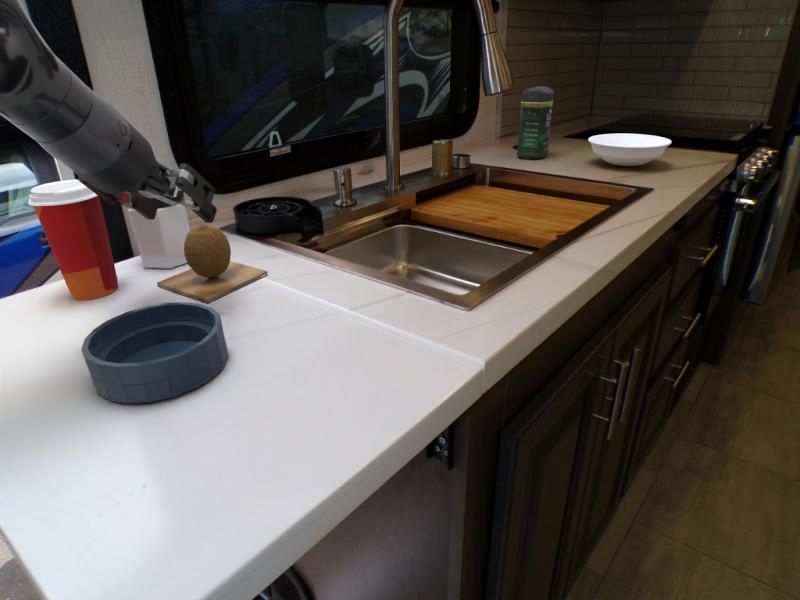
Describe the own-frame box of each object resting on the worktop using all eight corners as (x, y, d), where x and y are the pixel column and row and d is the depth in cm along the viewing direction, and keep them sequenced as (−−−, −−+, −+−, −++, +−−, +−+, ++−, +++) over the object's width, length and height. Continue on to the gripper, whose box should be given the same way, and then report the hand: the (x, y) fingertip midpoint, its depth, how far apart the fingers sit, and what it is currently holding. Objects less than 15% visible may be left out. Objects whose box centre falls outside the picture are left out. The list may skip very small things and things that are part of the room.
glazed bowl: (69, 379, 54) (55, 342, 52) (178, 325, 64) (170, 292, 62) (144, 422, 48) (132, 382, 46) (253, 355, 58) (247, 319, 56)
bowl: (608, 154, 149) (611, 131, 146) (680, 163, 136) (685, 138, 133) (570, 165, 137) (573, 140, 134) (645, 177, 124) (650, 149, 121)
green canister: (541, 161, 143) (547, 88, 135) (513, 158, 147) (518, 87, 139) (551, 154, 151) (558, 85, 142) (524, 152, 154) (529, 84, 146)
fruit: (180, 283, 74) (168, 229, 71) (209, 266, 80) (199, 215, 76) (217, 288, 72) (205, 233, 69) (243, 271, 77) (234, 219, 74)
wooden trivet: (157, 286, 75) (156, 282, 75) (218, 261, 83) (218, 257, 83) (207, 303, 70) (206, 299, 69) (268, 274, 78) (267, 270, 77)
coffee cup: (108, 274, 79) (79, 175, 73) (138, 286, 75) (110, 182, 68) (50, 295, 73) (11, 189, 67) (79, 309, 69) (41, 198, 62)
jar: (182, 246, 90) (166, 176, 84) (209, 256, 85) (194, 182, 80) (130, 262, 84) (110, 188, 78) (157, 274, 79) (137, 196, 74)
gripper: (23, 170, 54) (127, 238, 69) (144, 174, 51) (225, 244, 66) (47, 109, 56) (143, 188, 71) (165, 109, 53) (239, 191, 68)
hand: (182, 214), depth 68 cm, fingers open, 8 cm apart
